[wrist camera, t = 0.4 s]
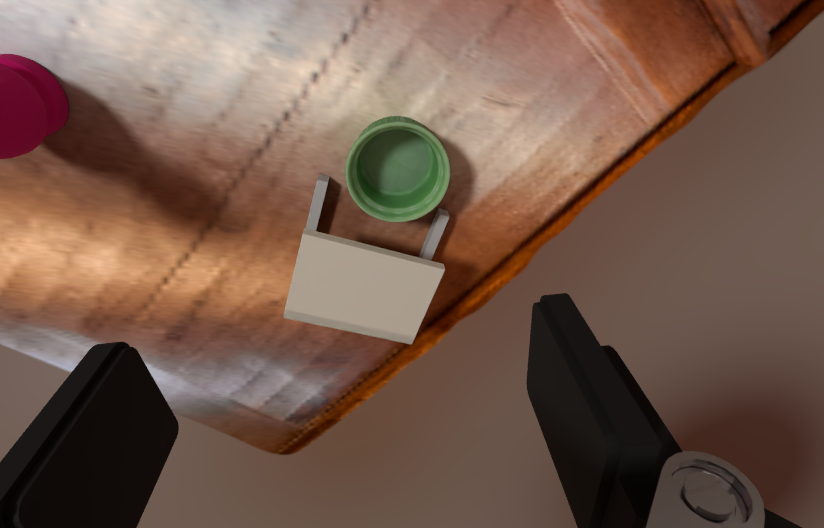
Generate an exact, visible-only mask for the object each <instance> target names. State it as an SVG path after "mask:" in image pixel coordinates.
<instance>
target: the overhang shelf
mask: <svg viewBox="0 0 824 528" xmlns="http://www.w3.org/2000/svg"><path fill="white" fill-rule="evenodd" d="M328 181H329V176H326V175H322V174H319V176H318V179H317V183H316V187H315V191H314V196H313V200H312V204H311V208H310V212H309V217H308V221H307V225H306V228H304V232H303V235H302V239H301V244H300V248H299V252H298V256H297V261H296V265H295V269H294V273H293V277H292V282H291V286H290V290H289V294H288V299H287V303H286V307H285V311H284V316H283V318H287V319H292V320H297V321H302V322H307V323H311V324H316V325H321V326H326V327H331V328H335V329H340V330H345V331H350V332H355V333H359V334H364V335H369V336H374V337H379V338H383V339H388V340H393V341H398V342H403V343H407V344H412V343H413V340H414V338H415V336H416V334H417V331H418V329H419V327H420V325H421V322H422V320H423V318H424V316H425V314H426V311H427V309H428V307H429V305H430V302H431V300H432V298H433V296H434V293H435V291H436V289H437V287H438V285H439V282H440V280H441V278H442V276H443V273H444V271H445V267H444V264H442V263H438V262H434V261H431V260H432V257H433V255H434V253H435V250H436V248H437V245H438V243H439V241H440V238H441V236H442V234H443V231H444V229H445V227H446V224H447V222H448V219H449V214H448V211H447V210H444V209H441V208H438V209H437V212H436V214H435V217H434V219H433V222H432V224H431V227H430V229H429V232H428V234H427V237H426V239H425V242H424V244H423V247H422V249H421V252H420V254H419V257H415V256H411V255H407V254H403V253H399V252H395V251H391V250H387V249H384V248H380V247H376V246H372V245H368V244H364V243H360V242H356V241H352V240H349V239H345V238H341V237H337V236H333V235H329V234H325V233H321V232H317V231H316V229H317V225H318V221H319V217H320V213H321V209H322V205H323V201H324V197H325V193H326V189H327V185H328Z"/></svg>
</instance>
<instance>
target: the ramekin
mask: <svg viewBox="0 0 824 528" xmlns="http://www.w3.org/2000/svg"><path fill="white" fill-rule="evenodd" d="M345 177H346V183H347V187H348V190H349V192H350V194H351V196H352V198H353V199H354V201H355V202H356V204H357V205H358V206H359V207H360V208H361V209H362V210H363V211H365V212H366V213H367V214H369V215H371V216H373V217H375V218H377V219H380V220H383V221H388V222H407V221H411V220H415V219H418V218H420V217H422V216H424V215H426V214H427V213H429V212H430V211H432V210H433V209H434V208H435V207H436V206H437V205H438V204H439V203H440V201H441V200H442V198H443V197H444V195H445V193H446V191H447V189H448V186H449V181H450V162H449V158H448V155H447V152H446V150H445V148H444V147H443V145H442V143H441V142H440V141H439V139H438V138H437V137H436V136H435V135H434V134H433V133H431V132H430V131H429V130H428V129H427V128H426V127H425V126H423V125H422V124H421V123H419V122H417V121H415V120H413V119H410V118H407V117H402V116H392V117H386V118H383V119H380V120H377V121H375V122H374V123H372V124H371V125H369V126H368V127H367V128H366V129H365V130H364V131H363V132H362V134H361V135H360V136H359V138H358V140H357V141H356V142H355V144H354V145H353V147H352V148H351V150H350V152H349V155H348V158H347V161H346V167H345Z"/></svg>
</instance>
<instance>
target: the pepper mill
mask: <svg viewBox="0 0 824 528" xmlns="http://www.w3.org/2000/svg"><path fill="white" fill-rule="evenodd" d="M68 114H69V106H68V101H67V97H66V95H65V93H64V91H63V89H62V87H61V85H60V84H59V83H58V82H57V80H56V79H55V78H54V77H53V76H52V75H51V74H50V73H49V72H48V71H47V70H46V69H44V68H43V67H42V66H41V65H39V64H37V63H36V62H34V61H32V60H30V59H27V58H25V57H22V56H18V55H14V54H1V55H0V159H7V158H13V157H16V156H20V155H22V154H25V153H28V152H30V151H32V150H34V149H35V148H36V147H37V146H38V145H40V144H41V142H42V141H43V139H44V137H45V136H47V135H50V134H52V133H54V132H56V131H58V130H59V129H61V128H62V127H63V126H64V125H65V123H66V121H67V118H68Z"/></svg>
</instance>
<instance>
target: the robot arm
mask: <svg viewBox="0 0 824 528" xmlns="http://www.w3.org/2000/svg"><path fill="white" fill-rule="evenodd" d="M527 390H528V395H529V398H530V401H531V403H532V406H533V408H534V411H535V414H536V417H537V419H538V422H539V425H540V427H541V430H542V433H543V435H544V438H545V441H546V443H547V446H548V449H549V452H550V454H551V457H552V460H553V462H554V465H555V468H556V470H557V473H558V476H559V478H560V481H561V483H562V486H563V489H564V492H565V494H566V497H567V500H568V502H569V505H570V508H571V510H572V513H573V516H574V519H575V521H576V524H577V527H578V528H802V527H800V526H798V525H796V524H794V523H792V522H790V521H788V520H786V519H784V518H782V517H780V516H778V515H777V514H775V513H773V512H771V511H769V510H767V509H765V508H764V505H763V501H762V499H761V497H760V495H759V493H758V491H757V489H756V488H755V487H754V485H753V484H752V483H751V482H750V481H749V480H748V478H747V477H746V476H745V475H744V474H742V473H741V472H740V471H739V470H738V469H736V468H735V467H734V466H732V465H731V464H729V463H727V462H725V461H724V460H722V459H720V458H718V457H715V456H712V455H709V454H706V453H703V452H693V451H685V452H682V450H681V449H680V447H679V446H678V444H677V443H676V441H675V440H674V438H673V436H672V435H671V433H670V432H669V430H668V429H667V427H666V426H665V424H664V423H663V421H662V420H661V418H660V417H659V415H658V414H657V412H656V411H655V409H654V408H653V406H652V405H651V403H650V402H649V400H648V399H647V397H646V396H645V394H644V392H643V391H642V390H641V388H640V387H639V385H638V383H637V382H636V380H635V379H634V377H633V376H632V374H631V373H630V371H629V370H628V369H627V367H626V365H625V364H624V362H623V361H622V359H621V358H620V356H619V355H618V353H617V352H616V351H615V350H614V348H612V347H611V346H609V345H608V346H600V344H599V342H598V341H597V340H596V338H595V336H594V334H593V333H592V331H591V330H590V328H589V326H588V325H587V323H586V322H585V320H584V318H583V317H582V315H581V314H580V312H579V311H578V309H577V307H576V306H575V304H574V302H573V301H572V299H571V298H570V296H569V295H568V294H566V293H563V294H554V295H544V296H542V297H541V299H540V302H538V303H534V305H533V309H532V323H531V334H530V346H529V359H528V371H527ZM177 435H178V422H177V420H176V417H175V416H174V414H173V412H172V410H171V409H170V407H169V405H168V404H167V402H166V400H165V398H164V397H163V395H162V393H161V391H160V390H159V388H158V386H157V384H156V383H155V381H154V379H153V377H152V376H151V374H150V372H149V370H148V369H147V367H146V365H145V363H144V362H143V360H142V358H141V356H140V355H139V353H138V351H137V350H136V349H135V348H133V347H130V346H129V345H128V344H127V343H125V342H115V343H105V344H97V345H95V346H93V347H92V348H91V349H90V350H89V351H88V352H87V354H86V355H85V356H84V358H83V359H82V360H81V361H80V363H79V364H78V365H77V366H76V368H75V369H74V370H73V371H72V373H71V374H70V375H69V377H68V378H67V379H66V380H65V381H64V383H63V384H62V385H61V386H60V388H59V389H58V391H57V392H56V393H55V394H54V395H53V397H52V398H51V399H50V400H49V402H48V403H47V404H46V405H45V407H44V408H43V409H42V410H41V412H40V413H39V414H38V416H37V417H36V418H35V419H34V421H33V422H32V423H31V424H30V425H29V427H28V428H27V429H26V430H25V432H24V433H23V434H22V436H21V437H20V438H19V439H18V441H17V442H16V443H15V444H14V446H13V447H12V448H11V449H10V451H9V452H8V453H7V454H6V456H5V457H4V458H3V459H2V461H1V462H0V528H136V527H137V525H138V523H139V521H140V518H141V516H142V514H143V512H144V509H145V507H146V505H147V503H148V500H149V498H150V496H151V494H152V492H153V489H154V487H155V485H156V483H157V480H158V478H159V476H160V474H161V471H162V469H163V467H164V464H165V462H166V460H167V458H168V456H169V453H170V451H171V449H172V447H173V444H174V442H175V440H176V438H177Z"/></svg>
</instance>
